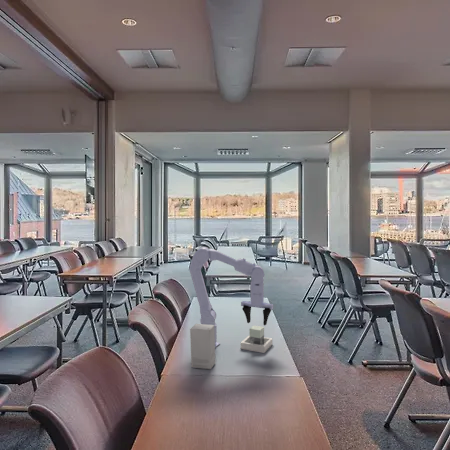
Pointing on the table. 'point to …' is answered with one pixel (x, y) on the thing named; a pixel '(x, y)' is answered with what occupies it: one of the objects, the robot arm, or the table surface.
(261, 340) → the metal block
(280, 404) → the table surface
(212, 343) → the skincare box
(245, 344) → the box
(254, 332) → the pale green box
